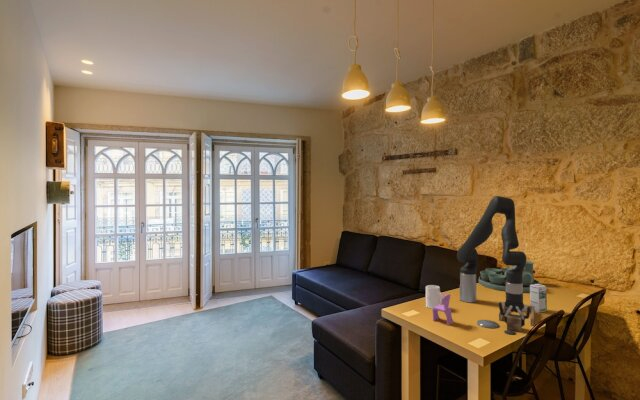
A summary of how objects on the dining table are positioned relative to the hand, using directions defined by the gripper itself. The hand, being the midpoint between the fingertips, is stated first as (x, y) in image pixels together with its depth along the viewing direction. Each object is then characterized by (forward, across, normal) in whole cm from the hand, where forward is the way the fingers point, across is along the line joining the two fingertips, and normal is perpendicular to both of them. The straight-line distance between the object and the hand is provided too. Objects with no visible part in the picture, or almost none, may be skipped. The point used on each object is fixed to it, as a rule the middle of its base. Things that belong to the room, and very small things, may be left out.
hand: (514, 324), depth 171 cm
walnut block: (+1, 0, +2) cm, 2 cm away
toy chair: (+2, +32, +9) cm, 34 cm away
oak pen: (+1, 0, -19) cm, 19 cm away
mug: (+2, +41, -11) cm, 43 cm away
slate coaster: (+1, +12, +2) cm, 12 cm away
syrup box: (+2, -10, -35) cm, 36 cm away
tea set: (+2, +10, -87) cm, 88 cm away
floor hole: (+1, +1, +8) cm, 8 cm away
